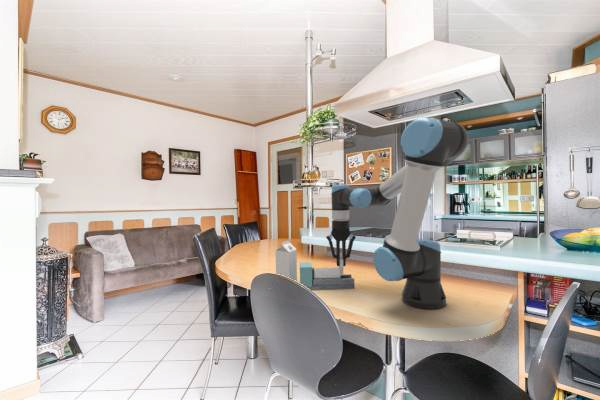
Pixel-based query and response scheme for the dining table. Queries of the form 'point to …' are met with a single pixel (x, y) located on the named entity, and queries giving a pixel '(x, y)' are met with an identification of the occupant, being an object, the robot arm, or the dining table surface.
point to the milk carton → (286, 260)
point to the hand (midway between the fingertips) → (341, 273)
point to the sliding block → (326, 273)
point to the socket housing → (306, 274)
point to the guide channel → (333, 283)
